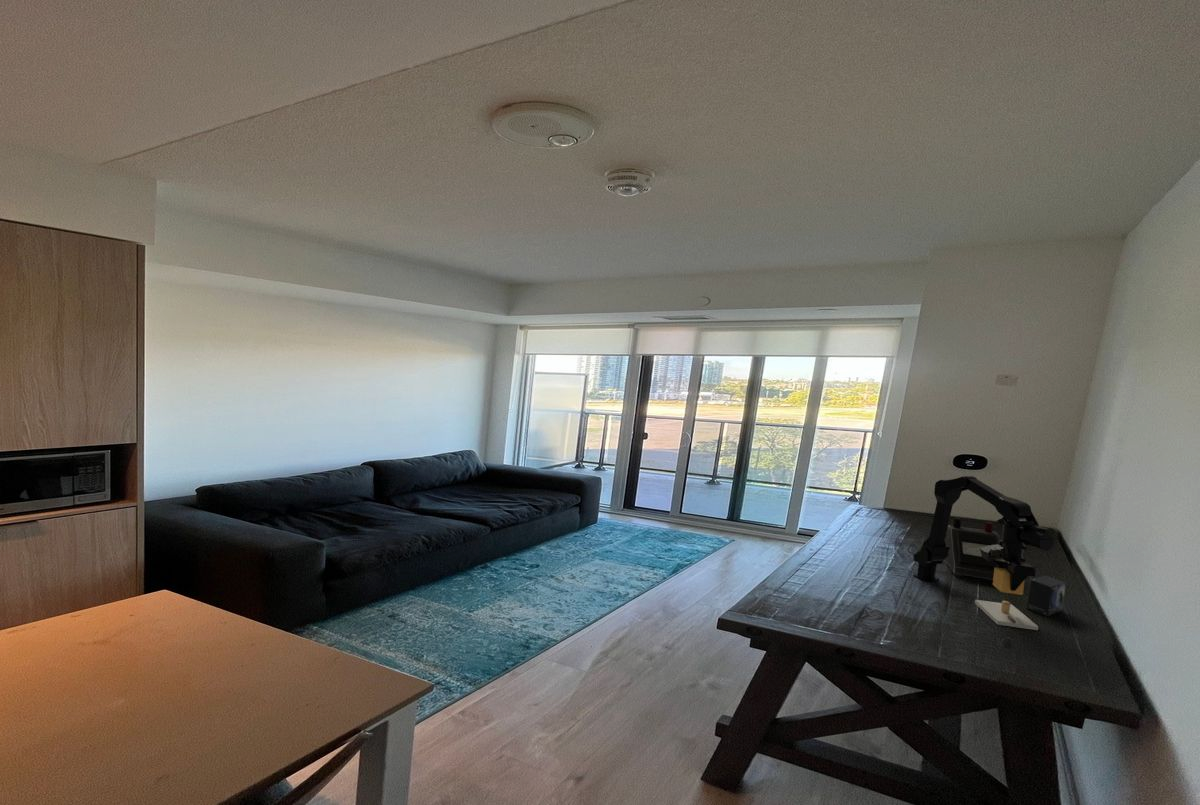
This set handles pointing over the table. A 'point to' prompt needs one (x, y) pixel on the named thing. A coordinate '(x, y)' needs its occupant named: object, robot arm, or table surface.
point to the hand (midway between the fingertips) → (1007, 586)
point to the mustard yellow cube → (1005, 582)
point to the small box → (1046, 595)
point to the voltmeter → (970, 550)
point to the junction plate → (1006, 614)
